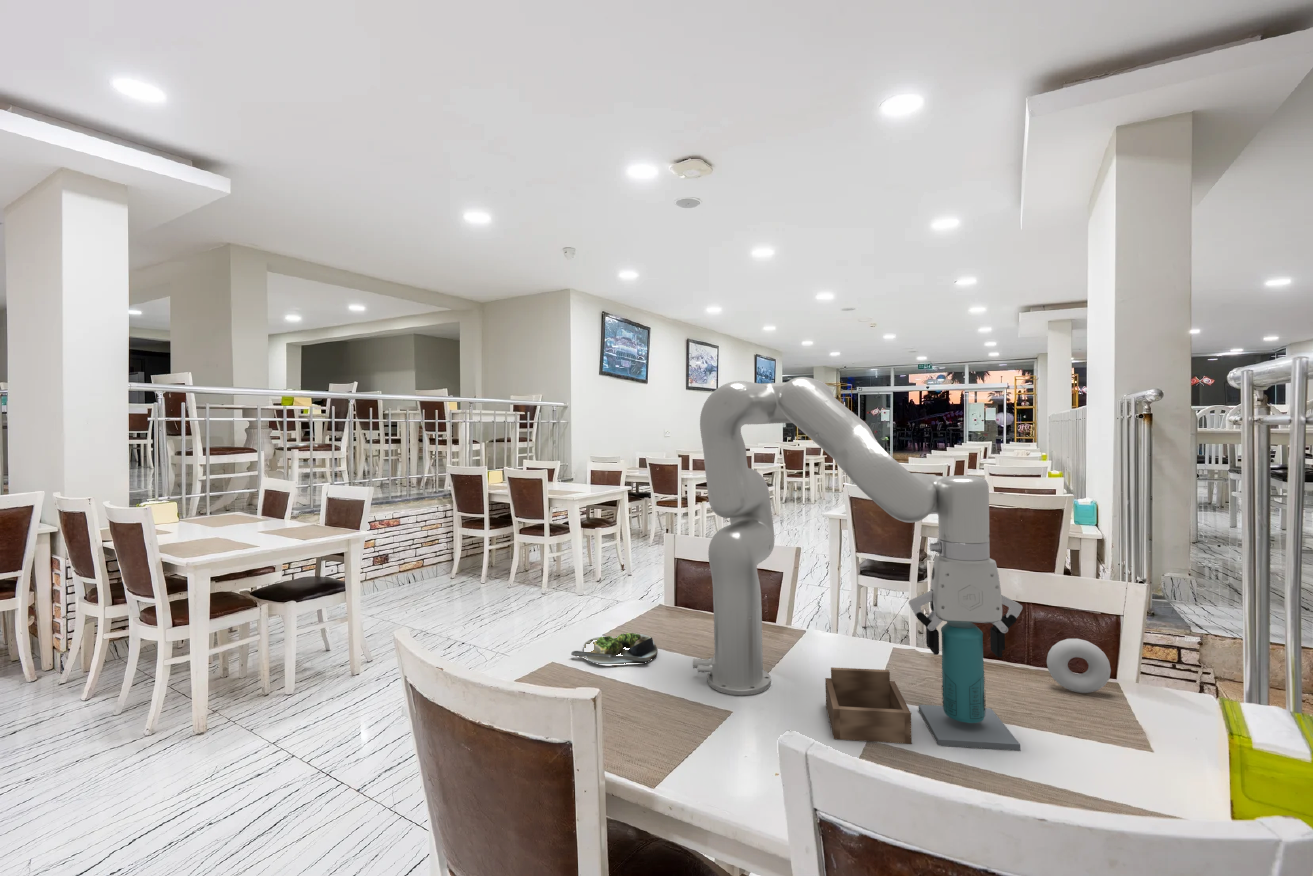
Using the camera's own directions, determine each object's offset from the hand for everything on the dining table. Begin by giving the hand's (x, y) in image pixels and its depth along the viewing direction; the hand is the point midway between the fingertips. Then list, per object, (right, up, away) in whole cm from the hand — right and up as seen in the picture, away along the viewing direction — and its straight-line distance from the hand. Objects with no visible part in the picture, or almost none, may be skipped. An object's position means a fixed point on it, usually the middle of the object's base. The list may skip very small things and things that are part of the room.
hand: (965, 653), depth 100 cm
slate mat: (0, -13, 0) cm, 13 cm away
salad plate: (-59, -14, +37) cm, 71 cm away
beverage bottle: (0, -12, 0) cm, 12 cm away
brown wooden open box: (-15, -13, +3) cm, 20 cm away
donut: (+28, -12, +13) cm, 33 cm away
